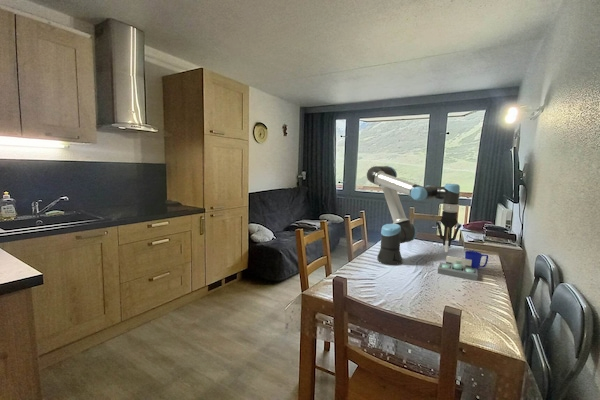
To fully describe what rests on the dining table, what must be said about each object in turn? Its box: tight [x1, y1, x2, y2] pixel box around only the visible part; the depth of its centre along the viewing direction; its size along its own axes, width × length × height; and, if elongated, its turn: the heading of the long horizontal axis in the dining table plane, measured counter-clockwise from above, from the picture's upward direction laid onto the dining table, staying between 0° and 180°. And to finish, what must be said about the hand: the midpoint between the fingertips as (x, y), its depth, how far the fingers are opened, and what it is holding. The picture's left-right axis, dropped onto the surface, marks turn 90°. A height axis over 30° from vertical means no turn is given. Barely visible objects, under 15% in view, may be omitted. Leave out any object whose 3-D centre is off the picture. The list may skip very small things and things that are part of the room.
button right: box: [465, 268, 475, 273], centre depth 154 cm, size 4×4×3 cm
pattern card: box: [445, 255, 472, 267], centre depth 164 cm, size 13×1×7 cm, turn 58°
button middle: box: [453, 263, 462, 271], centre depth 157 cm, size 4×4×3 cm
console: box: [437, 261, 479, 282], centre depth 158 cm, size 19×12×3 cm, turn 58°
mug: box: [464, 250, 489, 271], centre depth 164 cm, size 8×12×10 cm
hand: (446, 251), depth 160 cm, fingers closed
